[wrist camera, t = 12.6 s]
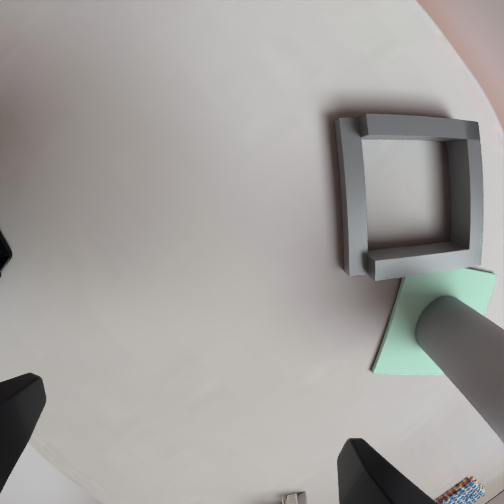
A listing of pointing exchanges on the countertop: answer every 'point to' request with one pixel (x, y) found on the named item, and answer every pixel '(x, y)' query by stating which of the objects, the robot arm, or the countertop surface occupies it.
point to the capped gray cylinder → (467, 354)
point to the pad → (410, 308)
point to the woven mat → (462, 493)
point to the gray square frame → (461, 196)
